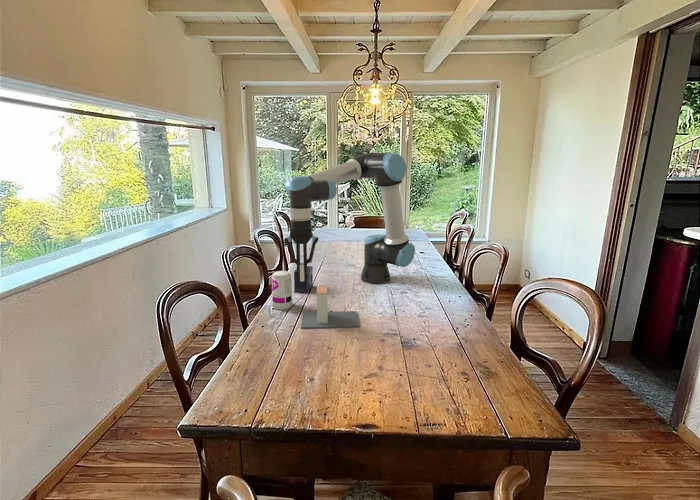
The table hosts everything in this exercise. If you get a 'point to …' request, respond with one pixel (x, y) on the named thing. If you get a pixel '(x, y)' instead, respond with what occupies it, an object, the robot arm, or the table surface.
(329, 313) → the mat
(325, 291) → the slab
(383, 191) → the robot arm
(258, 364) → the table surface
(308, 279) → the small box
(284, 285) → the supplement can
